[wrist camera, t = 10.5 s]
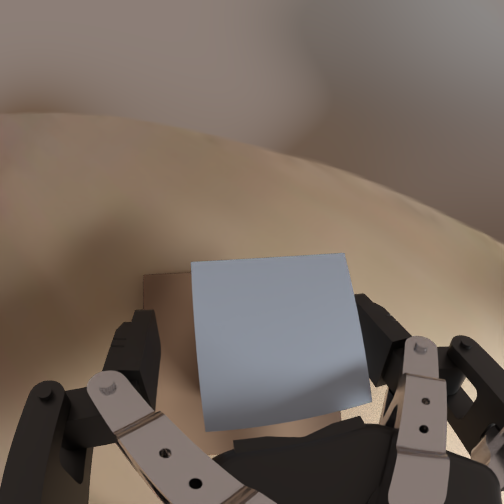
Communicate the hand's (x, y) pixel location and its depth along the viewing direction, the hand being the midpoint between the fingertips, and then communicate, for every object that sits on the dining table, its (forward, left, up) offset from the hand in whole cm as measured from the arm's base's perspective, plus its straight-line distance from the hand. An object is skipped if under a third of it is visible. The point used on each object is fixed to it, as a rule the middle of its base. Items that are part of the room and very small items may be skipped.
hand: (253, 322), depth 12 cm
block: (0, +1, -7) cm, 7 cm away
